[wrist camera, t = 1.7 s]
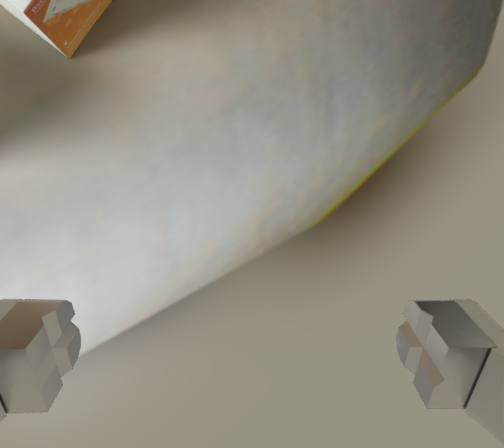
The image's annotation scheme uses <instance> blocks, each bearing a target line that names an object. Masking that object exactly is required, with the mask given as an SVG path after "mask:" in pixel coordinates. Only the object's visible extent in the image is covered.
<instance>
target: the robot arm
mask: <svg viewBox="0 0 504 448" xmlns="http://www.w3.org/2000/svg"><path fill="white" fill-rule="evenodd" d="M402 314H403V315H404V317H405V318H406V320H407V321H406V322H404V323H403V324H402V325H401V326H400V327H399V328H398V333H397V338H396V341H397V351H398V354H399V357H400V360H401V361H402V363H403V365H404V367H405V368H407V369H408V370H409V371H411V372H412V373H413V374H415V376H414V380H413V384H414V386H415V388H416V390H417V391H418V393H419V395H420V397H421V399H422V401H423V402H424V404H425V406H426V408H427V409H465V412H466V413H467V414H468V415H470V416H471V417H472V418H473V419H474V420H475V421H476V422H478V423H479V424H480V425H481V426H482V427H483V428H485V429H486V430H487V431H488V432H489V433H490V434H492V435H493V436H494V437H495V438H496V439H497V440H499V441H500V442H501V443H502V444H503V445H504V329H503V328H502V327H501V326H500V325H499V324H498V323H497V322H496V321H495V320H494V319H493V318H492V317H491V316H490V315H489V314H488V313H487V312H486V311H485V310H484V309H483V308H482V307H481V306H480V305H479V304H478V303H477V302H475V301H473V300H471V299H454V300H419V301H418V300H416V301H415V300H409V301H408V302H407V303H406V304H405V306H404V310H403V313H402ZM74 315H75V312H74V309H73V306H72V303H71V302H69V301H67V300H40V299H24V300H22V299H2V300H0V421H1V420H3V419H4V418H5V417H6V416H7V415H6V414H15V413H42V412H48V411H49V409H50V407H51V405H52V404H53V402H54V400H55V398H56V397H57V395H58V393H59V391H60V390H61V388H62V386H63V384H62V380H61V377H62V376H63V375H64V374H66V373H67V372H69V371H70V370H71V369H72V368H73V366H74V364H75V363H76V361H77V359H78V355H79V351H80V347H81V336H80V332H79V328H78V327H77V326H75V325H74V324H73V323H72V322H71V319H72V318H73V316H74Z"/></svg>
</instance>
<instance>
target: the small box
mask: <svg viewBox="0 0 504 448" xmlns="http://www.w3.org/2000/svg"><path fill="white" fill-rule="evenodd" d="M111 2H112V0H0V4H1V5H2V6H3V7H4V8H5V9H6V10H7V11H9V12H10V13H11V14H12V15H14V16H15V17H16V18H18V19H19V20H20V21H21V22H23V23H24V24H25V25H26V26H28V27H29V28H30V29H31V30H33V31H34V32H35V33H37V34H38V35H39V36H40V37H42V38H43V39H44V40H45V41H47V42H48V43H49V44H50V45H52V46H53V47H54V48H56V49H57V50H58V51H59V52H61V53H62V54H63V55H65V56H66V57H67V58H69V59H70V58H71V57H72V55H73V54H74V52H75V51H76V49H77V48H78V46H79V45H80V43H81V42H82V41H83V39H84V38H85V36H86V35H87V34H88V32H89V31H90V30H91V28H92V27H93V25H94V24H95V23H96V21H97V20H98V19H99V17H100V16H101V15H102V14H103V12H104V11H105V10H106V8H107V7H108V6H109V4H110V3H111Z"/></svg>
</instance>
